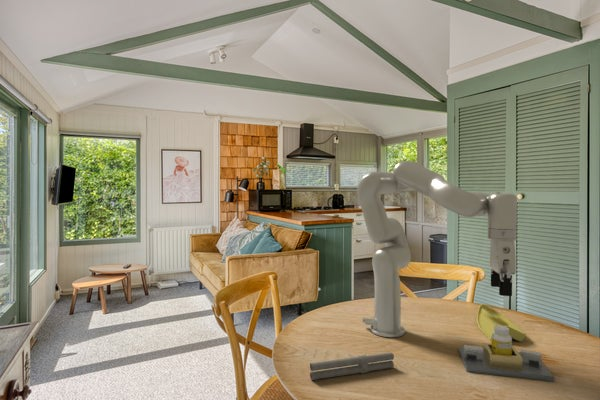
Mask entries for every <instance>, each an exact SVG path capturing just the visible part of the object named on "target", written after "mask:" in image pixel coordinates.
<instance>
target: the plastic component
mask: <svg viewBox="0 0 600 400" xmlns="http://www.w3.org/2000/svg"><path fill="white" fill-rule="evenodd" d="M476 314H477V315H476V322H477V323H476V324H477V326H478V328H479V330H480V331H481V332H483V334H484V335H485V336H486V337H487V338H488V339H489V340H491V336H492V334H493V333H494V326H496V325H501V326H506V327H508V328H509V334H508V335H510V336H511V338H512V340H513V339H514V340H515V341H517V342H522V341H524V339H525V337H526V335H527V333H526V332H525V331H523V330H522V329H521V328H520V327H518V326H517V325H516V324H515V323H514V322H512V321H511V320H510V318H507V317H506V316H505V315H503V314H502V313H500V312H499V311H497V310H496V309H493V308H492V307H491V306H488V305H485V304H484V303H481V304H479V306H478V310H477V313H476Z"/></svg>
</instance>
